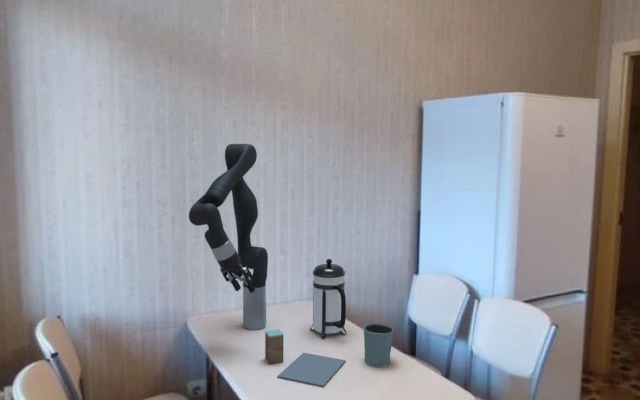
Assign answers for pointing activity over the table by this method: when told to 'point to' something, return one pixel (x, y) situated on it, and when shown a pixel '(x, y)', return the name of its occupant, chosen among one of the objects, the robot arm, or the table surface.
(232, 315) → the table surface
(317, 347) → the table surface
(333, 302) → the coffee press
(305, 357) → the mat
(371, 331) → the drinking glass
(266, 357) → the walnut block
